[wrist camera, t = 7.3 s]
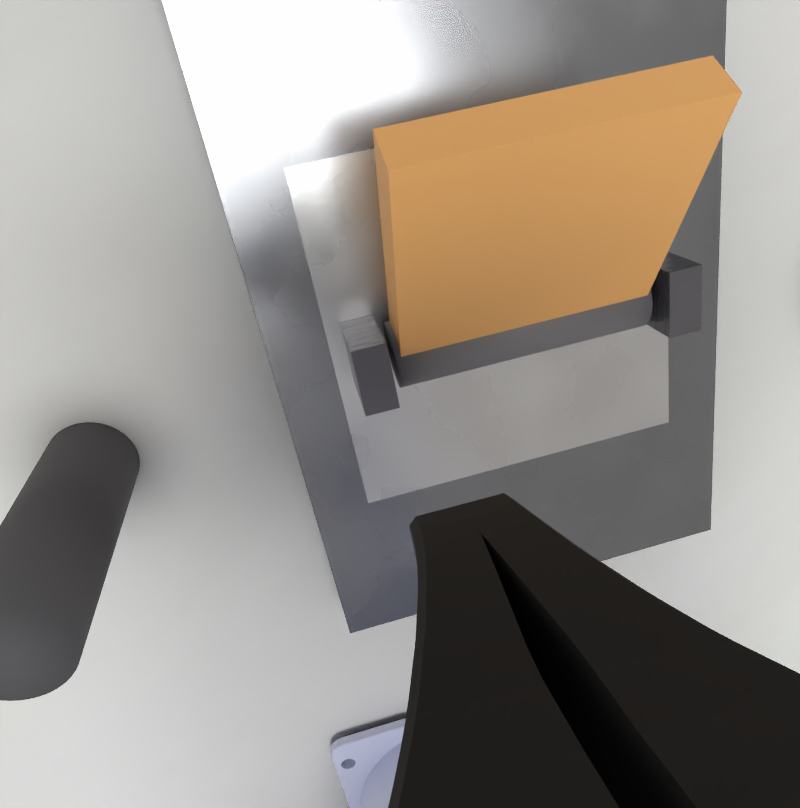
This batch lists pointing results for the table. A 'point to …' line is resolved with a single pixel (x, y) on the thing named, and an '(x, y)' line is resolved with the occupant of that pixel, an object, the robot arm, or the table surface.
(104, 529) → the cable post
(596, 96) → the breaker paddle
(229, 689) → the table surface
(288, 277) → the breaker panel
